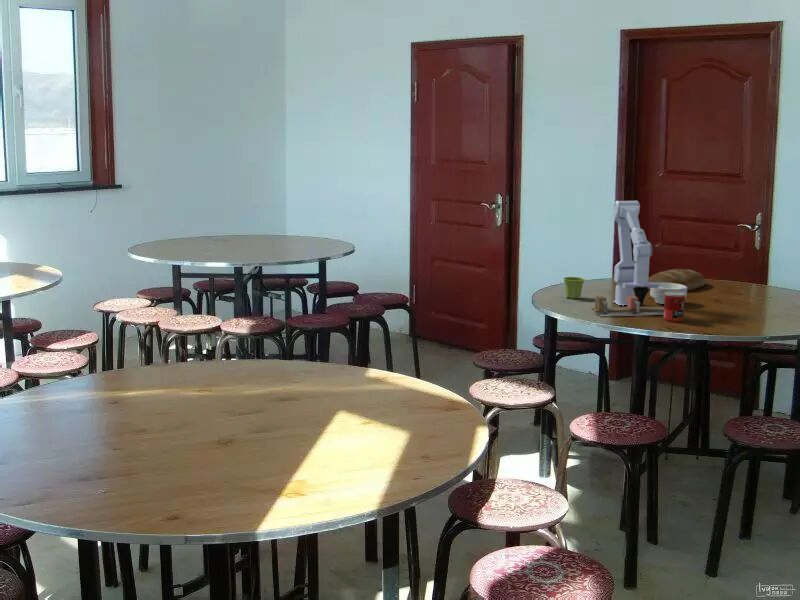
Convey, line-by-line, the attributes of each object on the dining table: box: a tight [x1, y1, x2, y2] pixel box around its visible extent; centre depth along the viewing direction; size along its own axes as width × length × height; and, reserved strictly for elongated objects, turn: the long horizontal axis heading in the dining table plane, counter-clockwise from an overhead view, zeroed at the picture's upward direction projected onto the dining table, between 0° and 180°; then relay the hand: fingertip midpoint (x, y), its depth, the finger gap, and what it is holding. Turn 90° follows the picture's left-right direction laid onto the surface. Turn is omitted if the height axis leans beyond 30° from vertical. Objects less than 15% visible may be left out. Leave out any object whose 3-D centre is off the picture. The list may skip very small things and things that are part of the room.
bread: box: [648, 268, 706, 292], centre depth 465 cm, size 22×37×8 cm, turn 137°
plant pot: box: [562, 276, 585, 299], centre depth 437 cm, size 9×9×9 cm
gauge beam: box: [591, 295, 664, 312], centre depth 404 cm, size 10×30×6 cm, turn 96°
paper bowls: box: [649, 283, 688, 305], centre depth 425 cm, size 15×15×8 cm
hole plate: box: [595, 311, 664, 317], centre depth 401 cm, size 6×30×1 cm, turn 96°
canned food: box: [663, 291, 686, 323], centre depth 390 cm, size 8×8×11 cm
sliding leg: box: [626, 295, 641, 312], centre depth 404 cm, size 10×3×5 cm, turn 6°
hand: (639, 305), depth 407 cm, fingers closed
